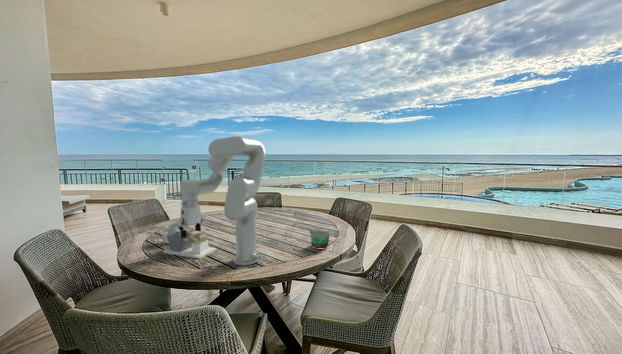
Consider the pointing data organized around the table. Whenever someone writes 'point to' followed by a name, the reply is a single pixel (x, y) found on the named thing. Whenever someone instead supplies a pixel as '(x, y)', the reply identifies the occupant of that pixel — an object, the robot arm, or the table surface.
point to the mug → (169, 232)
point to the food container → (319, 238)
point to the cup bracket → (187, 247)
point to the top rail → (193, 236)
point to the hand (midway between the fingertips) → (191, 234)
